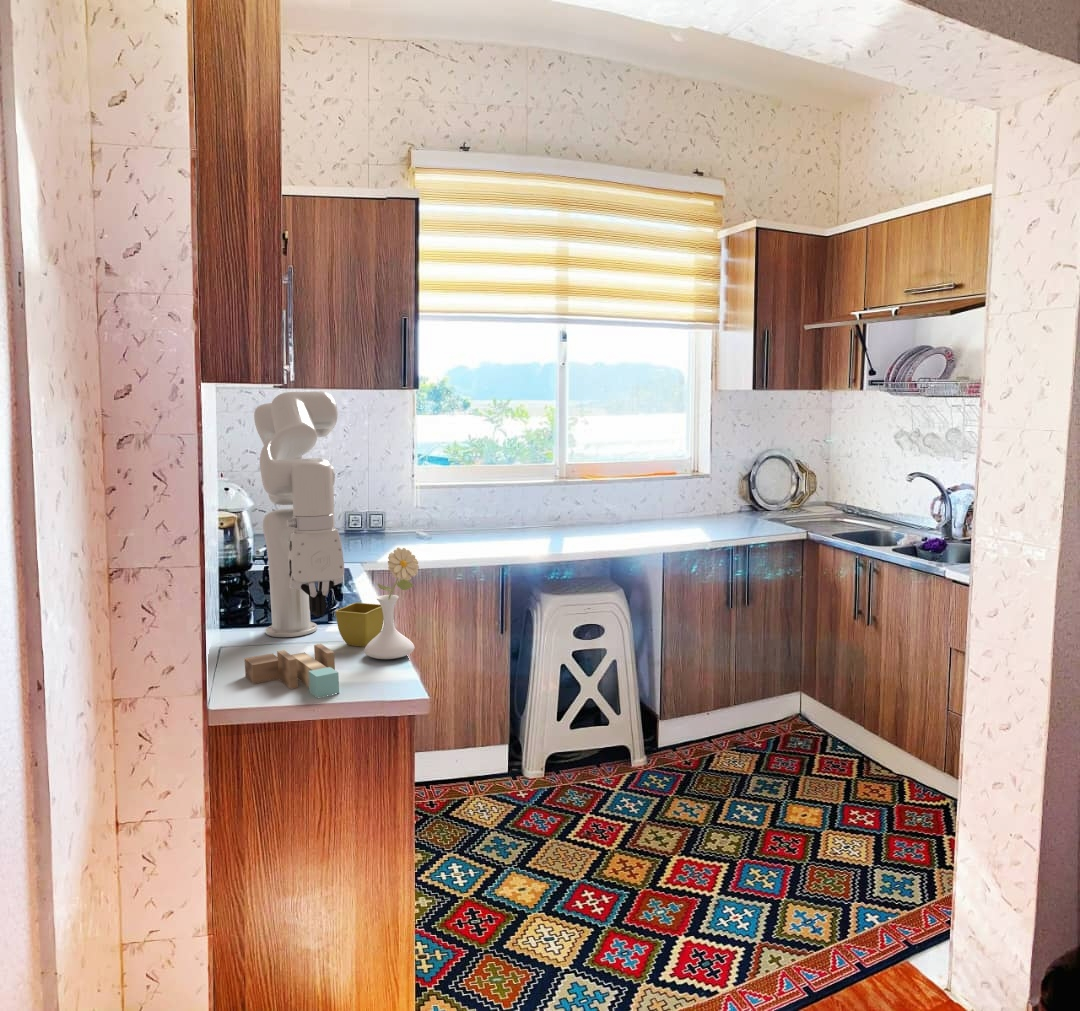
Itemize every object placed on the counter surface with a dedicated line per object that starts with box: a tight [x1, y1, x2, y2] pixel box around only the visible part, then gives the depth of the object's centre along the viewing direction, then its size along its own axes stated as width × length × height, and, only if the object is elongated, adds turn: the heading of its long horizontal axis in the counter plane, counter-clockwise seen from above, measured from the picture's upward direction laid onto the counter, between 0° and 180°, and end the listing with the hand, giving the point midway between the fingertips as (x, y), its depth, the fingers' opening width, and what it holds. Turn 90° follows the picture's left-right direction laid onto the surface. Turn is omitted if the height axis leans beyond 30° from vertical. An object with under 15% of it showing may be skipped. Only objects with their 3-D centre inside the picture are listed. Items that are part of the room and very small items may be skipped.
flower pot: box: [334, 602, 384, 648], centre depth 206 cm, size 9×9×9 cm
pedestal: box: [244, 653, 279, 685], centre depth 182 cm, size 6×6×4 cm
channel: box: [276, 643, 336, 690], centre depth 180 cm, size 8×10×6 cm
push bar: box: [291, 652, 327, 688], centre depth 179 cm, size 14×3×4 cm, turn 34°
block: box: [308, 667, 340, 698], centre depth 171 cm, size 4×4×4 cm
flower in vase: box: [364, 547, 420, 660], centre depth 195 cm, size 13×11×25 cm
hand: (318, 614), depth 171 cm, fingers closed
